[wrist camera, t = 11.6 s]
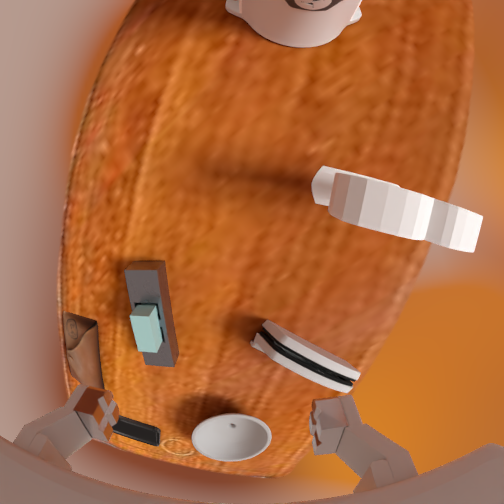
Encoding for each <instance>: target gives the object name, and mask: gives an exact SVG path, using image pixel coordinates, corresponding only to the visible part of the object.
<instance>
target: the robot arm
mask: <svg viewBox="0 0 504 504" xmlns="http://www.w3.org/2000/svg"><path fill="white" fill-rule="evenodd" d="M361 1H362V0H237V1H235V0H226V6H225V7H226V10H227V11H228V12H229V13H231V14H233V15H236V16H238V17H240V18H243V19H244V20H245V21H246V22H247V23H248V24H249V25H250V26H251V27H252V28H253V29H254V30H255V31H256V32H257V33H259V34H260V35H262V36H263V37H265V38H267V39H269V40H271V41H273V42H276V43H279V44H282V45H286V46H291V47H315V46H319V45H323V44H325V43H328V42H330V41H332V40H333V39H334V38H336V37H337V36H338V35H339V34H340V33H341V31H342V30H343V29H344V28H345V27H346V26H347V25H350V24H352V23H355V22H357V21H358V20H359V19H360V17H361V15H362V14H361V11H360V8H359V5H360V3H361ZM112 399H113V394H112V392H111V391H109V390H105V389H100V388H96V387H92V386H87V385H83V384H80V385H78V386H77V387H76V389H75V390H74V392H73V393H72V395H71V397H70V398H69V400H68V401H67V403H66V404H65V406H64V407H60V408H58V409H56V410H54V411H52V412H50V413H48V414H46V415H44V416H42V417H40V418H38V419H36V420H34V421H32V422H30V423H28V424H26V425H24V427H23V428H22V430H21V431H20V433H19V434H18V436H17V437H16V439H15V440H14V442H13V443H12V442H10V441H8V440H6V439H5V438H3V437H2V436H0V504H226V503H210V502H199V501H190V500H183V499H176V498H169V497H163V496H157V495H153V494H148V493H143V492H138V491H134V490H130V489H126V488H122V487H119V486H114V485H111V484H108V483H105V482H102V481H98V480H95V479H92V478H89V477H87V476H84V475H81V474H78V473H75V472H73V471H72V467H71V466H70V464H69V463H68V462H67V461H66V460H65V459H67V458H68V457H69V456H70V455H72V454H73V453H75V452H76V451H77V450H78V449H80V448H81V447H82V446H84V445H85V444H86V443H87V442H89V441H90V440H91V439H92V438H95V439H99V440H103V441H107V442H109V440H110V437H111V435H112V433H113V428H112V426H113V425H115V424H117V421H118V419H119V408H118V405H117V404H116V403H115V402H114V401H113V400H112ZM311 406H312V410H313V411H312V412H310V417H309V426H310V433H311V435H313V436H314V437H313V441H312V444H313V450H314V455H321V454H331V453H336V454H337V456H339V457H340V458H341V459H342V460H343V461H344V462H345V463H346V464H347V465H348V466H349V467H350V468H351V469H352V470H353V471H354V472H355V473H356V474H357V475H359V476H360V477H361V478H362V479H361V480H360V482H359V483H358V485H357V486H356V488H355V489H354V491H353V492H354V493H353V494H349V495H343V496H338V497H332V498H326V499H319V500H311V501H302V502H291V503H275V504H504V447H502V446H500V445H496V444H493V443H490V444H487V445H484V446H482V447H480V448H479V449H477V450H475V451H473V452H471V453H469V454H467V455H465V456H463V457H461V458H459V459H456V460H454V461H452V462H450V463H447V464H445V465H443V466H440V467H438V468H436V469H433V470H431V471H428V472H425V473H423V474H420V475H418V473H417V471H416V468H415V466H414V464H413V461H412V459H411V456H410V454H409V452H408V451H407V450H405V449H404V448H402V447H401V446H399V445H398V444H396V443H394V442H393V441H391V440H390V439H388V438H387V437H385V436H384V435H382V434H381V433H379V432H378V431H376V430H375V429H373V428H372V427H370V426H369V425H367V424H362V421H361V418H360V416H359V413H358V410H357V408H356V405H355V402H354V399H353V397H352V396H351V395H345V396H338V397H329V398H320V399H313V401H312V405H311Z"/></svg>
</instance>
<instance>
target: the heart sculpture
mask: <svg viewBox="0 0 504 504" xmlns="http://www.w3.org/2000/svg"><path fill="white" fill-rule="evenodd" d="M312 193H313V197H314V200H315V203H316V204H321V205H326V206H329V207H328V212H329V213H330V214H331V215H332V216H334V217H336V218H338V219H339V220H341V221H344V222H348V223H351V224H354V225H357V226H361V227H365V228H369V229H372V230H376V231H380V232H384V233H388V234H392V235H396V236H400V237H404V238H409V239H414V240H426V241H429V242H432V243H435V244H438V245H441V246H444V247H447V248H451V249H456V250H460V251H465V252H474V250H475V246H476V243H477V239H478V235H479V231H480V227H481V223H482V219H483V216H481V215H478V214H476V213H474V212H471V211H468V210H466V209H463V208H460V207H458V206H454V205H452V204H449V203H446V202H443V201H440V200H437V199H434V198H431V197H429V196H426V195H423V194H420V193H416V192H413V191H410V190H407V189H403V188H400V187H399V185H396V184H392V183H389V182H385V181H382V180H378V179H375V178H371V177H367V176H363V175H359V174H356V173H352V172H347V171H343V170H339V169H335V168H330V167H326V166H322V167H321V168H320V170H319V171H318V172H317V174H316V175H315V177H314V178H313V181H312Z"/></svg>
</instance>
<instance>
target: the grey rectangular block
mask: <svg viewBox="0 0 504 504" xmlns="http://www.w3.org/2000/svg"><path fill="white" fill-rule="evenodd" d="M124 272H125V277H126V283H127V288H128V293H129V298H130V303H131V308H132V312H133V310H134V309H135V307H136V306H137V305H141V303H158V307H159V313H158V320H159V326H160V327H162V329H163V335H162V340H163V341H162V343H161V345H160V347H159V349H158V352H157V353H154V352H142V353H143V357H144V361H145V364H146V365H155V366H166V367H175V364H176V361H177V358H178V355H179V350H178V345H177V339H176V334H175V328H174V322H173V316H172V310H171V303H170V296H169V289H168V282H167V275H166V267H165V261H134V262H132V263H131V264H130V265H129V266H128V267H127V268H126V269H125V270H124Z"/></svg>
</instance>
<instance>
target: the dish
mask: <svg viewBox="0 0 504 504" xmlns="http://www.w3.org/2000/svg"><path fill="white" fill-rule="evenodd" d="M270 441H271V431H270V429H269V427H268V426H267V425H266V424H265V423H264V422H263V421H261V420H259V419H257V418H255V417H252V416H249V415H245V414H241V413H225V414H220V415H217V416H214V417H211V418H208V419H206V420H204V421H202V422H201V423H200V424H198V425H197V426H196V427H195V429H194V431H193V433H192V443H193V445H194V447H195V448H196V449H197V450H198V451H199V452H200V453H201V454H203V455H205V456H207V457H209V458H212V459H215V460H220V461H241V460H246V459H249V458H252V457H254V456H256V455H258V454H260V453H261V452H263V451H264V450H265V449H266V448H267V447H268V445H269V444H270Z"/></svg>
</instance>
